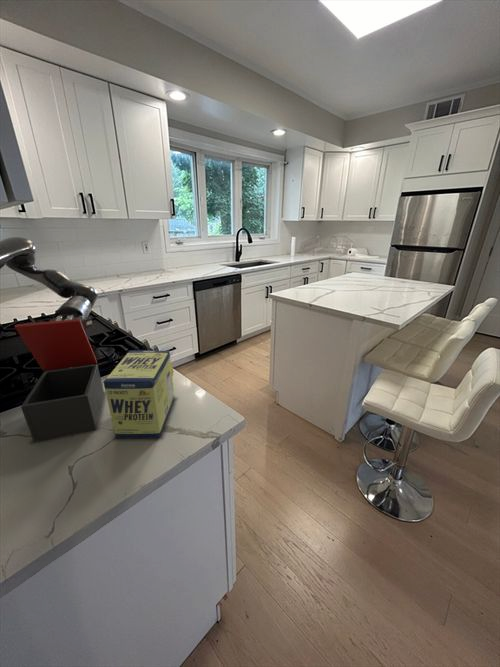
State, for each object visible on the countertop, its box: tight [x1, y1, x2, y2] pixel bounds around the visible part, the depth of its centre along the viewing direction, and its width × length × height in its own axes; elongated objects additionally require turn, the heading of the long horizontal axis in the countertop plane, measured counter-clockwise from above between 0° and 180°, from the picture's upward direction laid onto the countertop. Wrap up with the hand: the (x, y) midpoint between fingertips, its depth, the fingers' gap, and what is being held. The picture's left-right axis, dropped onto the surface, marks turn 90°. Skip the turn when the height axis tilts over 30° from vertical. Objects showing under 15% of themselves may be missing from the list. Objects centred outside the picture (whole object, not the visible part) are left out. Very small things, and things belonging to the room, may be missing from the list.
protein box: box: [102, 350, 176, 439], centre depth 68 cm, size 10×16×16 cm
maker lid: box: [14, 319, 98, 372], centre depth 68 cm, size 16×13×1 cm
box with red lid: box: [20, 363, 105, 443], centre depth 69 cm, size 16×13×10 cm
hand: (57, 336), depth 67 cm, fingers closed
